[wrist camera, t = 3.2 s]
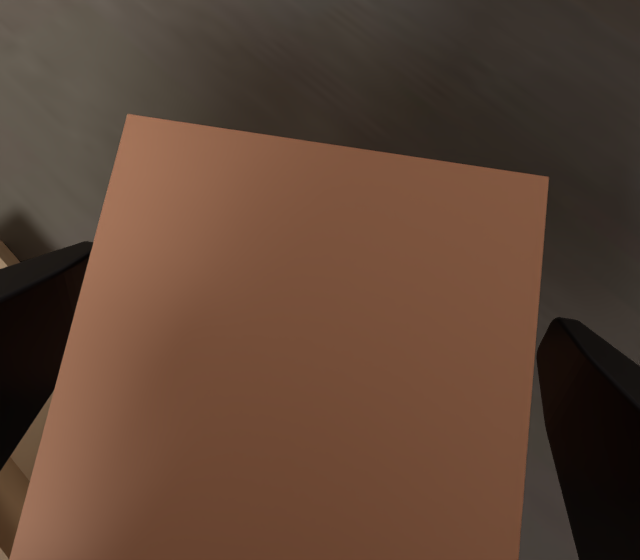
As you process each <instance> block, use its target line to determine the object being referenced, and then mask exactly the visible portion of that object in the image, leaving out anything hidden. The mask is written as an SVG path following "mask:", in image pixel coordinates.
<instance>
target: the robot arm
mask: <svg viewBox="0 0 640 560" xmlns="http://www.w3.org/2000/svg"><path fill="white" fill-rule="evenodd" d="M92 246H93V242H88V241H85V242H81V243H78V244H75V245H72V246H69V247H66V248H63V249H60V250H57V251H54V252H50V253H47V254H44V255H41V256H38V257H35V258H32V259H29V260H26V261H23V262H20V263H17V264H14V265H11V266H8V267H5V268H2V269H0V471H1V470H2V468H3V467H4V465H5V464H6V462H7V461H8V459H9V458H10V456H11V455H12V453H13V452H14V450H15V449H16V447H17V446H18V444H19V442H20V441H21V439H22V438H23V436H24V435H25V433H26V432H27V430H28V429H29V427H30V426H31V424H32V423H33V421H34V420H35V418H36V417H37V415H38V414H39V412H40V411H41V409H42V408H43V406H44V405H45V403H46V402H47V400H48V399H49V397H50V396H51V394H52V393H53V391H54V389H55V385H56V381H57V378H58V374H59V370H60V366H61V363H62V359H63V355H64V351H65V347H66V344H67V340H68V336H69V332H70V329H71V325H72V321H73V317H74V314H75V310H76V306H77V302H78V299H79V295H80V291H81V287H82V284H83V280H84V276H85V272H86V268H87V265H88V261H89V257H90V253H91V250H92ZM537 367H538V375H539V383H540V390H541V398H542V406H543V414H544V420H545V426H546V431H547V435H548V440H549V443H550V447H551V451H552V455H553V459H554V463H555V467H556V471H557V475H558V479H559V483H560V487H561V490H562V494H563V498H564V502H565V506H566V510H567V514H568V518H569V522H570V526H571V530H572V534H573V537H574V541H575V545H576V549H577V553H578V557H579V560H640V366H638V365H637V364H636V363H634V362H633V361H632V360H630V359H629V358H628V357H626V356H625V355H624V354H622V353H621V352H620V351H618V350H617V349H616V348H614V347H613V346H612V345H610V344H609V343H608V342H606V341H605V340H604V339H602V338H601V337H600V336H598V335H597V334H596V333H594V332H593V331H592V330H590V329H589V328H588V327H586V326H585V325H584V324H582V323H581V322H580V321H578V320H574V319H568V318H561V317H557V318H555V319H553V320H552V322H551V323H550V325H549V327H548V329H547V331H546V333H545V335H544V337H543V339H542V341H541V343H540V345H539V347H538V350H537Z"/></svg>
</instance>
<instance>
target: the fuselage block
mask: <svg viewBox="0 0 640 560" xmlns="http://www.w3.org/2000/svg"><path fill="white" fill-rule="evenodd" d="M548 183H549V177H546V176H539V175H533V174H526V173H519V172H513V171H506V170H499V169H493V168H486V167H479V166H472V165H466V164H459V163H452V162H446V161H439V160H432V159H426V158H419V157H412V156H406V155H399V154H392V153H385V152H379V151H372V150H365V149H359V148H352V147H345V146H339V145H332V144H325V143H318V142H312V141H305V140H298V139H292V138H285V137H278V136H272V135H265V134H258V133H252V132H245V131H238V130H231V129H225V128H218V127H211V126H205V125H198V124H191V123H185V122H178V121H171V120H164V119H158V118H151V117H144V116H138V115H131V114H127V118H126V122H125V126H124V129H123V133H122V137H121V141H120V144H119V148H118V152H117V156H116V159H115V163H114V167H113V171H112V174H111V178H110V182H109V186H108V189H107V193H106V197H105V201H104V205H103V208H102V212H101V216H100V220H99V223H98V227H97V231H96V235H95V238H94V242H93V246H92V250H91V253H90V257H89V261H88V265H87V268H86V272H85V276H84V280H83V284H82V287H81V291H80V295H79V299H78V302H77V306H76V310H75V314H74V317H73V321H72V325H71V329H70V332H69V336H68V340H67V344H66V347H65V351H64V355H63V359H62V363H61V366H60V370H59V374H58V378H57V381H56V385H55V389H54V393H53V396H52V400H51V404H50V408H49V411H48V415H47V419H46V423H45V426H44V430H43V434H42V438H41V442H40V445H39V449H38V453H37V457H36V460H35V464H34V468H33V472H32V475H31V479H30V483H29V487H28V490H27V494H26V498H25V502H24V505H23V509H22V513H21V517H20V521H19V524H18V528H17V532H16V536H15V539H14V543H13V547H12V551H11V554H10V558H9V560H518V558H519V546H520V533H521V521H522V508H523V496H524V483H525V471H526V458H527V446H528V433H529V421H530V408H531V396H532V383H533V371H534V358H535V346H536V333H537V320H538V308H539V295H540V283H541V270H542V258H543V245H544V233H545V220H546V208H547V195H548Z"/></svg>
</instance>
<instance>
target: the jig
mask: <svg viewBox="0 0 640 560" xmlns="http://www.w3.org/2000/svg"><path fill="white" fill-rule="evenodd" d="M17 263H20V261H19V260H18V259H17V258H16V257H15V256H14V254H13V253H12V252H11V251H10V250H9V249H8V247H7V246H6V245H5V244H4V243H3V242H2V241H1V240H0V269H2V268H5V267H8V266H11V265H14V264H17ZM53 393H54V391H53ZM53 393H52V394H51V396H50V397H49V399H48V400H47V402H46V403H45V405H44V406H43V408H42V409H41V411H40V412H39V414H38V415H37V417H36V418H35V420H34V421H33V423H32V424H31V426H30V427H29V429H28V430H27V432H26V433H25V435H24V436H23V438H22V439H21V441H20V442H19V444H18V446H17V447H16V449H15V450H14V452H13V453H12V455H11V456H10V458H9V459H8V461H7V462H6V464H5V465H4V467H3V468H2V470H1V471H0V560H9V558H10V554H11V551H12V547H13V543H14V539H15V536H16V532H17V528H18V524H19V521H20V517H21V513H22V509H23V505H24V502H25V498H26V494H27V490H28V487H29V483H30V479H31V475H32V472H33V468H34V464H35V460H36V457H37V453H38V449H39V445H40V442H41V438H42V434H43V430H44V426H45V423H46V419H47V415H48V411H49V408H50V404H51V400H52V396H53Z"/></svg>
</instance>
